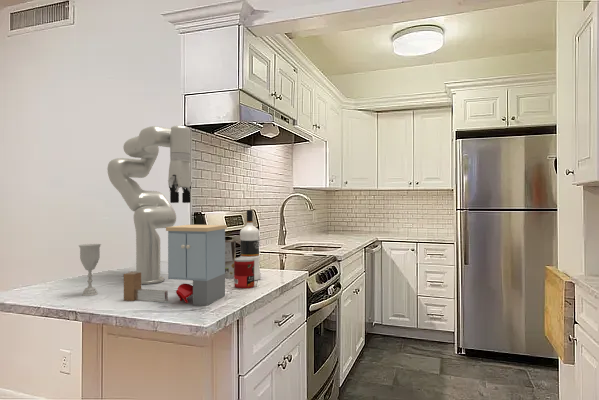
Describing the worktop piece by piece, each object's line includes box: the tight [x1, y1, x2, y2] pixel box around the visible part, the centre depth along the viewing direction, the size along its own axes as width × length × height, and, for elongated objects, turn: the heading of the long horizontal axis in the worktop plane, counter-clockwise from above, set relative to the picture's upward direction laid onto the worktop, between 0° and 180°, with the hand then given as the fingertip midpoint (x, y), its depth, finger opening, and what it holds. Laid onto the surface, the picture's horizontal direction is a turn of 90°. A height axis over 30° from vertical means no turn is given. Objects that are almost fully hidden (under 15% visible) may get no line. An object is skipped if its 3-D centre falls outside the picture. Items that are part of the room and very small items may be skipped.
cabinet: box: [165, 224, 228, 306], centre depth 136 cm, size 15×16×25 cm
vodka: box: [239, 209, 262, 282], centre depth 172 cm, size 9×9×30 cm
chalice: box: [78, 243, 102, 297], centre depth 145 cm, size 7×7×18 cm
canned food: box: [233, 257, 255, 290], centre depth 157 cm, size 8×8×11 cm
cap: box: [175, 283, 193, 304], centre depth 135 cm, size 8×6×6 cm
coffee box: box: [225, 239, 237, 279], centre depth 178 cm, size 9×6×16 cm
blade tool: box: [123, 271, 169, 303], centre depth 136 cm, size 15×4×9 cm, turn 76°
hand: (180, 202), depth 154 cm, fingers open, 9 cm apart
